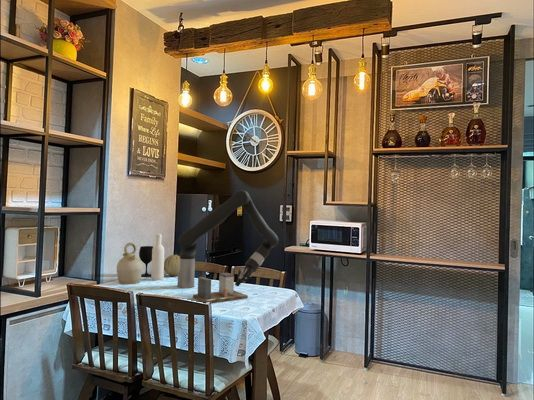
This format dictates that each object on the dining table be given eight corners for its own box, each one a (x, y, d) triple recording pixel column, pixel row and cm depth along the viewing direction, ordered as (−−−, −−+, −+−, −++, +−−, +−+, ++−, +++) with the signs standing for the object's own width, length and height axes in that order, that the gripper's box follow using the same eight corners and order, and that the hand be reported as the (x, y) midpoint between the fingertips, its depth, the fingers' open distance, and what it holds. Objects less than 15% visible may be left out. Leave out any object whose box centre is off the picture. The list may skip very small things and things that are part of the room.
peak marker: (225, 295, 214) (225, 288, 214) (227, 296, 212) (227, 289, 212) (223, 296, 213) (223, 288, 213) (225, 296, 211) (225, 289, 211)
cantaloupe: (163, 278, 268) (163, 255, 268) (162, 274, 282) (163, 253, 282) (185, 277, 272) (186, 255, 272) (184, 273, 286) (184, 252, 286)
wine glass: (137, 277, 268) (138, 247, 268) (139, 274, 278) (140, 245, 278) (153, 277, 270) (154, 247, 270) (154, 274, 280) (155, 246, 281)
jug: (115, 280, 254) (116, 241, 254) (140, 279, 260) (141, 241, 261) (117, 285, 240) (118, 244, 240) (143, 284, 246) (145, 243, 247)
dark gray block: (202, 295, 215) (203, 276, 215) (210, 298, 208) (211, 279, 208) (197, 295, 213) (198, 277, 213) (205, 299, 206) (206, 280, 206)
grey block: (226, 292, 223) (227, 272, 223) (235, 295, 215) (236, 275, 215) (218, 293, 220) (219, 273, 220) (227, 296, 212) (228, 276, 212)
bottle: (158, 277, 268) (160, 233, 268) (166, 279, 263) (167, 234, 263) (148, 279, 262) (150, 233, 262) (155, 281, 257) (157, 234, 257)
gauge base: (232, 292, 230) (232, 289, 230) (247, 298, 217) (247, 295, 217) (192, 297, 215) (192, 294, 215) (206, 304, 203) (207, 300, 203)
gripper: (244, 256, 234) (226, 279, 226) (257, 259, 223) (238, 283, 216) (252, 264, 237) (233, 287, 229) (265, 267, 226) (246, 291, 219)
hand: (236, 285), depth 223 cm, fingers closed
